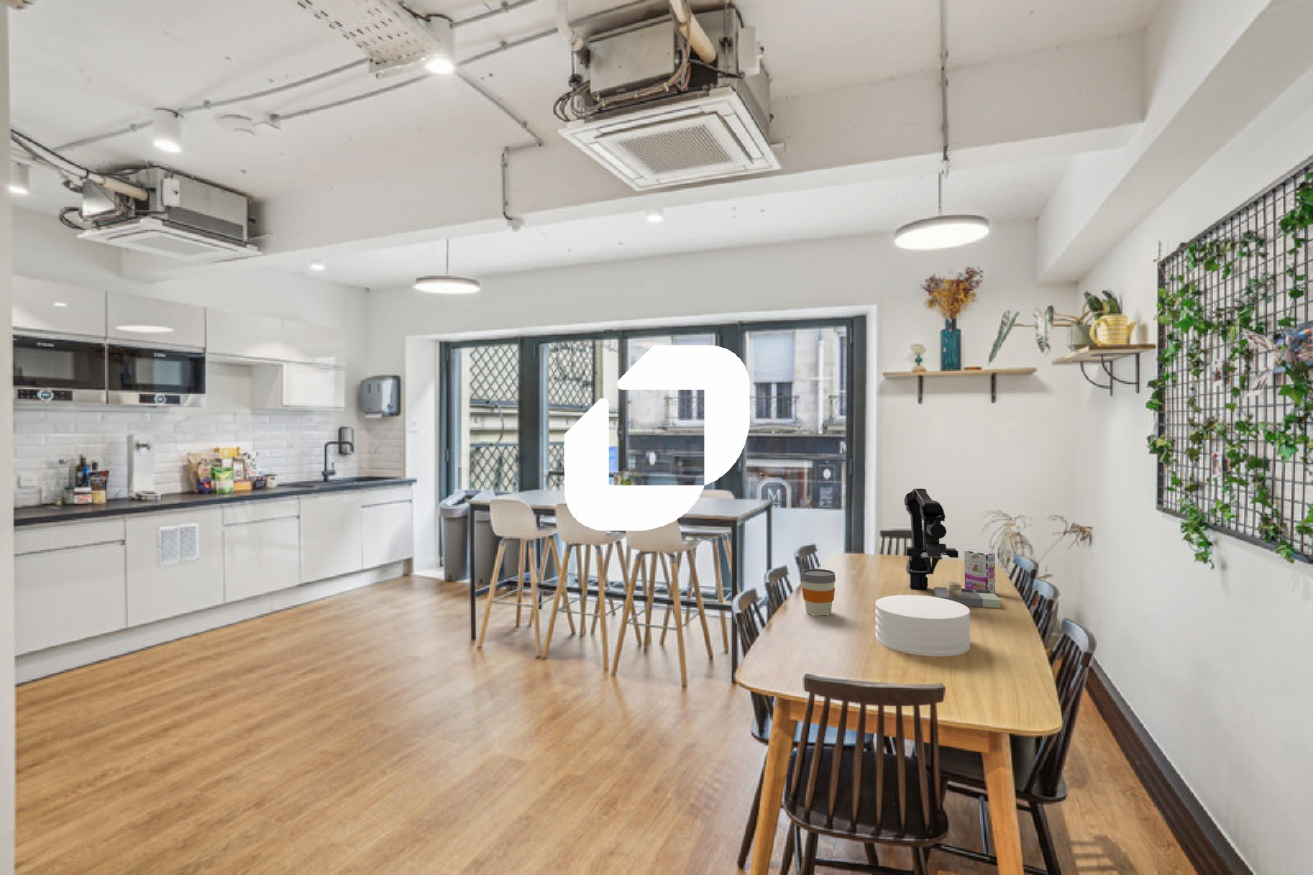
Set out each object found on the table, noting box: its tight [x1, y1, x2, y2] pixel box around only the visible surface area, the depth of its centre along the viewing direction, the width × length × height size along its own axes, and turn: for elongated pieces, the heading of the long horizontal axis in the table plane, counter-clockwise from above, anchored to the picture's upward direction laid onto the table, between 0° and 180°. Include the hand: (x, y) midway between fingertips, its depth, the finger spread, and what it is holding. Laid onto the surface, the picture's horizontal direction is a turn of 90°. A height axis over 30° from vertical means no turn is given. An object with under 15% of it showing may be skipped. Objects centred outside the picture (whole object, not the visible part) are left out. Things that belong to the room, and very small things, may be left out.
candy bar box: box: [964, 549, 996, 594], centre depth 272 cm, size 11×5×16 cm, turn 25°
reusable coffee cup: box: [800, 568, 836, 616], centre depth 244 cm, size 13×13×15 cm
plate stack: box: [874, 594, 971, 657], centre depth 210 cm, size 28×28×12 cm
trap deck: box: [933, 586, 1001, 609], centre depth 257 cm, size 21×16×3 cm
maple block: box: [946, 581, 962, 597], centre depth 255 cm, size 4×4×4 cm
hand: (931, 574), depth 257 cm, fingers closed
